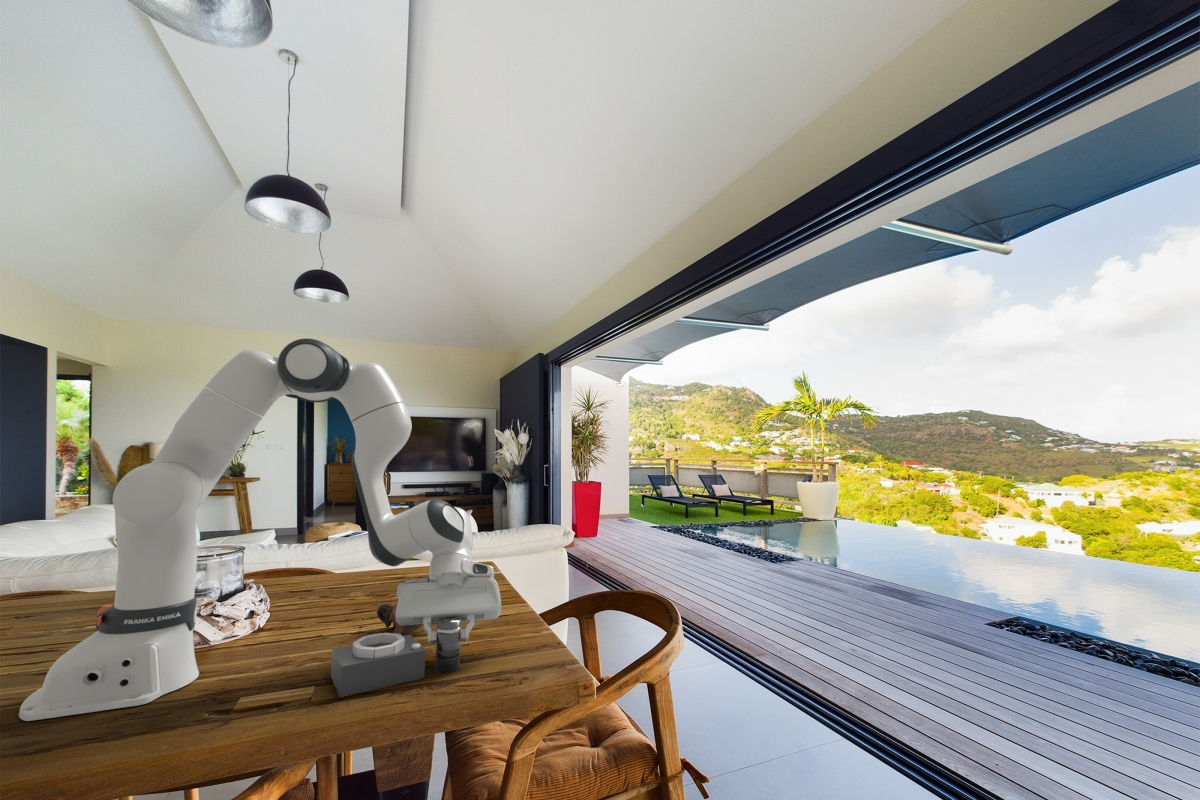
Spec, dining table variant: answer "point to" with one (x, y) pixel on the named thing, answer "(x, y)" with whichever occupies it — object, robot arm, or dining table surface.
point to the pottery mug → (394, 619)
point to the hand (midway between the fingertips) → (448, 641)
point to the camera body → (376, 663)
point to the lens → (448, 644)
